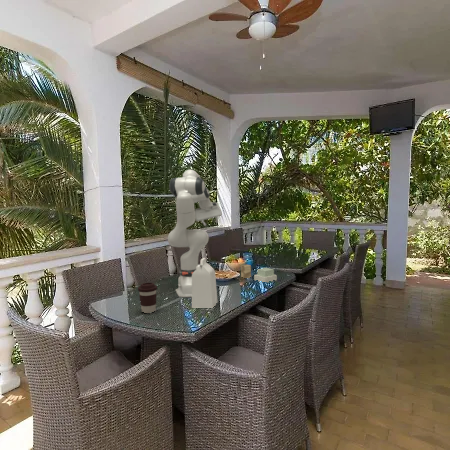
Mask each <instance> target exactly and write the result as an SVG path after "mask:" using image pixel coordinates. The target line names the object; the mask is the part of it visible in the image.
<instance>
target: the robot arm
mask: <svg viewBox="0 0 450 450" xmlns="http://www.w3.org/2000/svg"><path fill="white" fill-rule="evenodd" d="M168 187H169V192H170V193H171V195H173V196H174V197H175V198H176V201H175V207H176V210H175V211H176V225H175V226H174V228H173V229H172V230H171V231H170V232H169V233H168V235H167V242H168V244H169V246H171V247H174V248H189V250H188V251H186V252H184V253H182V254H181V256H180V259H179V260H180V270H179V272H180V273H179V274H180V275H179V277H178V283H177V287H178V288H176V289H175V292H176V294H177V295H178V297H179V298H192V273H193V272H194V271H195V270H196V267H197V266H198V265H199V255H200V253H201V251H202V250H203V248H204V247H205V246H206V245H207V244H208V242H209V240H210V236H209V234H208V232H207V231H206V230H203V229H197V228H196V229H195V228H194V229H187V228H189V227H191V226H193V224H195V223H196V222H201V223H202V224H203V226H204V227H206V226H207V223H206V222H205V220H206V221H207V220H209V219H213V218H214V219H215V223H216V224H218V223H219V217H222V215H223V212H222V209H221V208H220V206H219V204H218V202H213V201H211V200H210V196H211V195H210V192H209V189H208V188H207V187H206V184H205V181H204V179H203V178H201V176H200V174H198V173H197V172H196V170H194V169H187V170H185V171H184V172H183V173H182V177H174V178H171V179H170V180H169V185H168ZM195 203H196V204H197V203H198V205H199V208H195Z"/></svg>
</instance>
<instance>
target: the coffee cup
mask: <svg viewBox="0 0 450 450" xmlns="http://www.w3.org/2000/svg"><path fill="white" fill-rule="evenodd" d="M157 290H158V286H157V284H155V283H154V282H142V283H141V284H140V286H138V287H137V291H138V292H139V294H138V295H139V296H138V297H139V302H140V304H139V305H140V308H141V313H142V312H144V313H150V312H154V311H155V312H156V309H157ZM155 312H154V313H155ZM144 313H143V314H144ZM150 314H151V313H150Z"/></svg>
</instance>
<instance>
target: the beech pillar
mask: <svg viewBox="0 0 450 450" xmlns="http://www.w3.org/2000/svg"><path fill="white" fill-rule="evenodd" d="M251 265H252V264H242V265H240V274H241V275H240V276H241V277H243V278H242V279H244V278H248V279H251V278H252V266H251ZM241 277H240V278H241ZM250 277H251V278H250Z"/></svg>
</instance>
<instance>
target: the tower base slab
mask: <svg viewBox="0 0 450 450" xmlns="http://www.w3.org/2000/svg"><path fill="white" fill-rule="evenodd" d="M277 279H278V277H277V274H274V275H272V276H268V277H263V276H259V275H258V274H254V276H253V280H254V281H256V280H258V281H257V282H260V281H262V282H261V283H263V282H267V283H270V282H269V281H271V282H274V281H273V280H275V281H277Z"/></svg>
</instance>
